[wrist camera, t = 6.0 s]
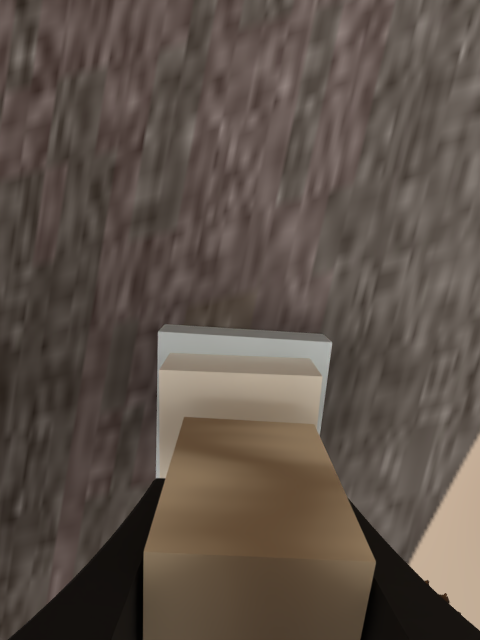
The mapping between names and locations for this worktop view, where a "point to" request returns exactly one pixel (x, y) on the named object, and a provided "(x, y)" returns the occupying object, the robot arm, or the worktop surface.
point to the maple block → (254, 539)
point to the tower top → (234, 392)
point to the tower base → (243, 351)
